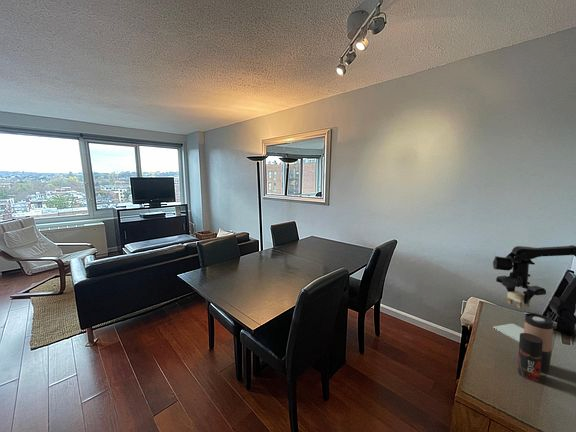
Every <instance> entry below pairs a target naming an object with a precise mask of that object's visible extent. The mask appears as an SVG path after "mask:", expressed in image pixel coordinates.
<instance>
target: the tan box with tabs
mask: <svg viewBox="0 0 576 432" xmlns="http://www.w3.org/2000/svg"><path fill="white" fill-rule="evenodd" d="M506 293H507V295H506V296H507V297H506V299H507V300H506V303H507V304H509V305H513V301H514V303H515V304H516V308H518V309H522V308H523V307H525V308H529V307H530V304H531V303H530V302H531V299H530V300H529V302H528V303H527V304H524V295H525V294H524V293H523V291H522V292H521V291H518V290H515V291H511V292H508V291H507V292H506Z"/></svg>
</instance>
